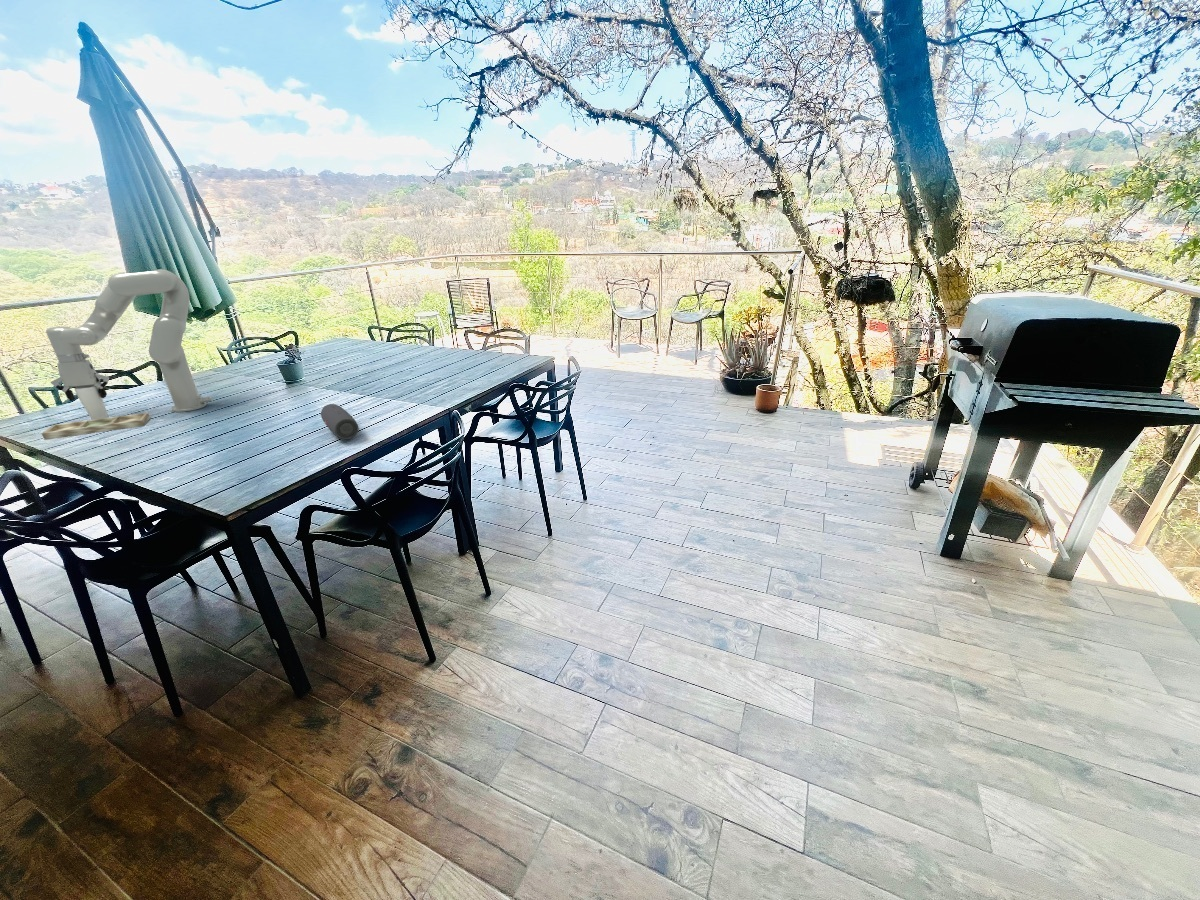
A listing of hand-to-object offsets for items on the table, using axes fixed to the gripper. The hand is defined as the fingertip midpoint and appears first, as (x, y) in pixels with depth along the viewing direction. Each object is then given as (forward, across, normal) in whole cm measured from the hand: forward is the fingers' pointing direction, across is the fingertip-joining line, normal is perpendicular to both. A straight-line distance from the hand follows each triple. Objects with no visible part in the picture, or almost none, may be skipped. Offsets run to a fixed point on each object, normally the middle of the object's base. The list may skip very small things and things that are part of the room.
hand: (88, 398), depth 200 cm
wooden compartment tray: (+10, -4, +12) cm, 16 cm away
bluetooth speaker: (+7, -91, +67) cm, 113 cm away
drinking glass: (+10, -1, 0) cm, 10 cm away
